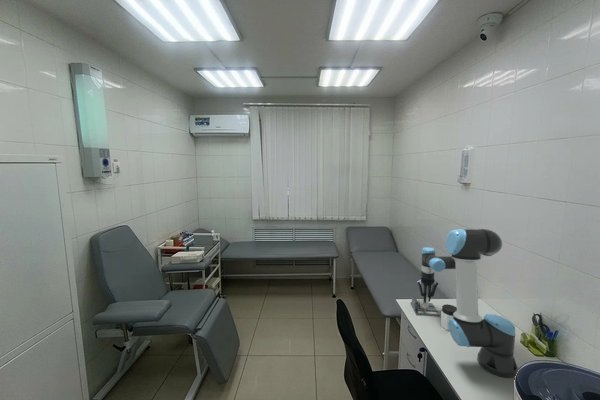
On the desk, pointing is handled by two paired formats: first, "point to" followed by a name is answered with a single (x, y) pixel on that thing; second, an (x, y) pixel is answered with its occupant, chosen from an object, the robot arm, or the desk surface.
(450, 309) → the jar
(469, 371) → the desk surface
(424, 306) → the block
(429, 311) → the bench
